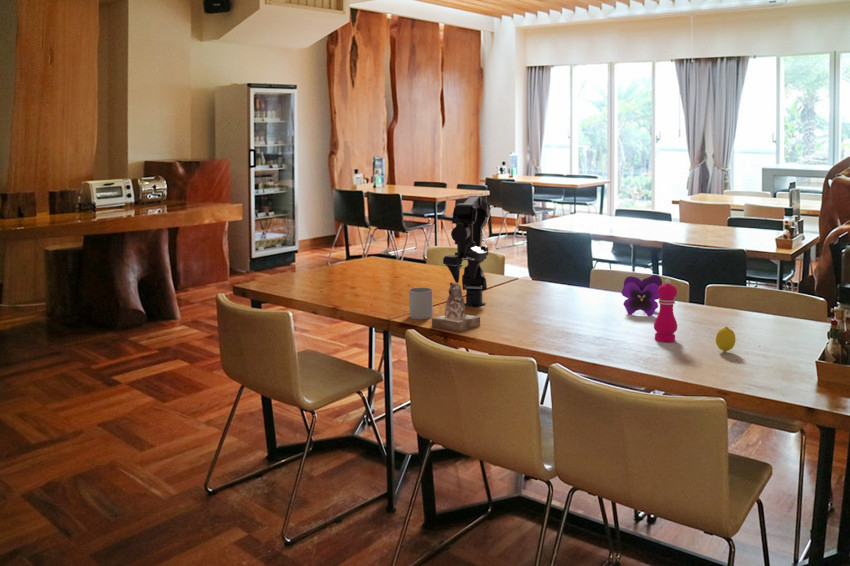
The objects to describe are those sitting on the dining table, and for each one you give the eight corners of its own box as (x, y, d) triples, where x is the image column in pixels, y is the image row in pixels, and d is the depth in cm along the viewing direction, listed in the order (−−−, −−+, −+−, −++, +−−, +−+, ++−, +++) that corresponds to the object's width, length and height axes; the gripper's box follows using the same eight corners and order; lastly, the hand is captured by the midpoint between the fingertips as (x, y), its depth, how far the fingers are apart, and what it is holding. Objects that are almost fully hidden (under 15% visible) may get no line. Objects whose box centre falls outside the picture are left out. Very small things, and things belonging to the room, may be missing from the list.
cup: (429, 319, 279) (429, 292, 277) (407, 318, 280) (407, 291, 278) (434, 314, 287) (433, 287, 285) (412, 313, 288) (412, 287, 286)
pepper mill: (649, 337, 251) (652, 277, 247) (671, 336, 252) (674, 276, 248) (658, 343, 244) (661, 281, 240) (680, 342, 245) (683, 280, 241)
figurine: (451, 320, 264) (450, 286, 262) (441, 315, 270) (441, 282, 268) (469, 317, 267) (469, 283, 265) (458, 313, 274) (458, 280, 271)
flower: (622, 321, 293) (618, 311, 281) (626, 283, 297) (622, 273, 285) (662, 324, 288) (660, 315, 276) (665, 286, 292) (663, 275, 280)
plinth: (453, 320, 277) (453, 311, 277) (480, 325, 269) (480, 316, 269) (431, 326, 268) (431, 317, 268) (458, 332, 261) (458, 323, 260)
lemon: (717, 348, 237) (719, 323, 236) (736, 351, 234) (738, 326, 233) (712, 353, 233) (714, 327, 231) (732, 355, 230) (733, 330, 228)
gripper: (466, 243, 266) (466, 287, 269) (498, 237, 280) (498, 279, 283) (441, 240, 273) (442, 283, 276) (474, 235, 287) (474, 276, 290)
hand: (465, 280), depth 281 cm, fingers open, 9 cm apart
